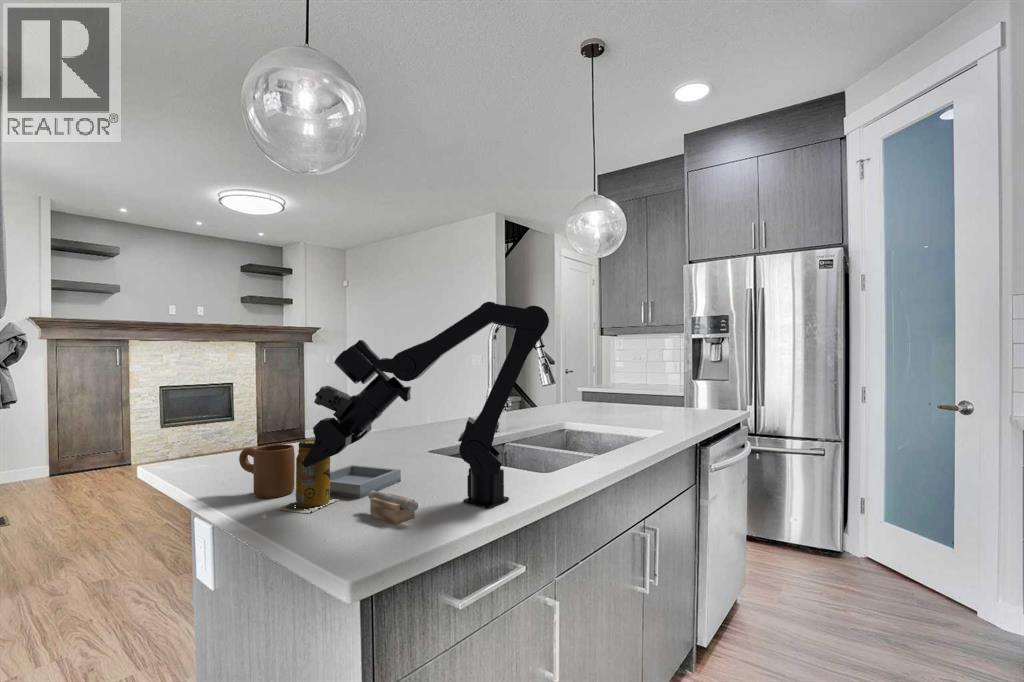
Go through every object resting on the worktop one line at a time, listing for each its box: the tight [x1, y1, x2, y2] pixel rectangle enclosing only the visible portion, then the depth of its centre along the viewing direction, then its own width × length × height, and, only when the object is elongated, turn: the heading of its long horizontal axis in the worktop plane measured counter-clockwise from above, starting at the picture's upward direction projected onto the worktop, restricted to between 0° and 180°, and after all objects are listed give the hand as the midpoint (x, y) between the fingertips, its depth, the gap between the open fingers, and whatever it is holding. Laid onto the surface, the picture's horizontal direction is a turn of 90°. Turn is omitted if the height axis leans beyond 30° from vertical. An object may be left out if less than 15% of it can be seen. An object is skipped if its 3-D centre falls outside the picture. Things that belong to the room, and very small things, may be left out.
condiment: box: [276, 438, 340, 514], centre depth 92 cm, size 7×8×12 cm
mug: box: [238, 444, 296, 499], centre depth 101 cm, size 12×8×9 cm, turn 78°
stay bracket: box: [367, 490, 419, 525], centre depth 85 cm, size 13×4×4 cm, turn 53°
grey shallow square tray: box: [330, 464, 402, 499], centre depth 105 cm, size 14×14×3 cm
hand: (313, 459), depth 93 cm, fingers open, 9 cm apart
